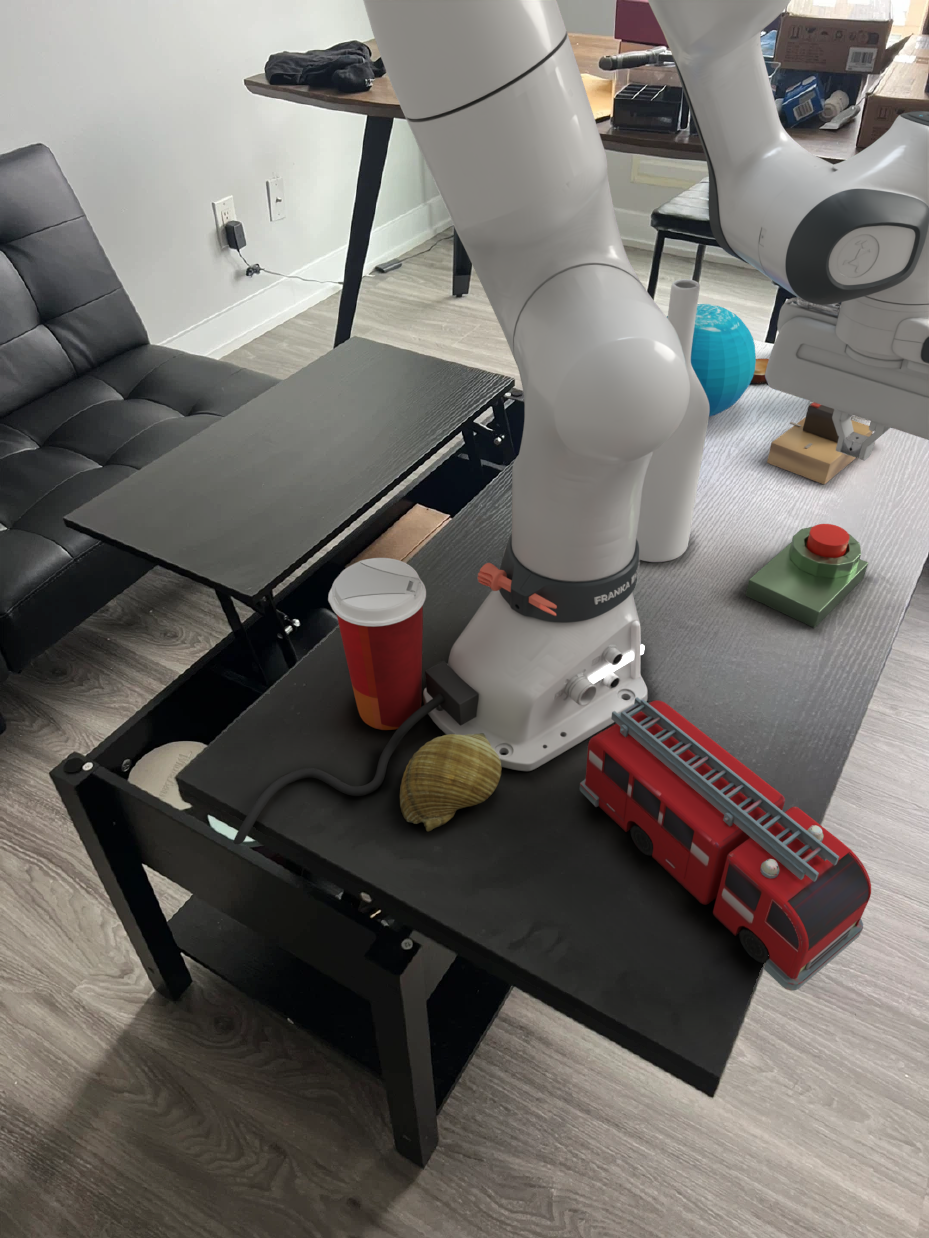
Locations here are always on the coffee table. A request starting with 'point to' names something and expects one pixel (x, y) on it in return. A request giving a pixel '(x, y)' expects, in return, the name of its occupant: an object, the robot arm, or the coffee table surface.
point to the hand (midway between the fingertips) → (852, 453)
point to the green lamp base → (807, 580)
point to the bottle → (675, 452)
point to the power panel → (810, 453)
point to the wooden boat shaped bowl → (760, 371)
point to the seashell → (448, 778)
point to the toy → (729, 840)
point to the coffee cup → (382, 637)
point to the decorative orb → (722, 356)
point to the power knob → (820, 422)
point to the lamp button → (827, 540)
